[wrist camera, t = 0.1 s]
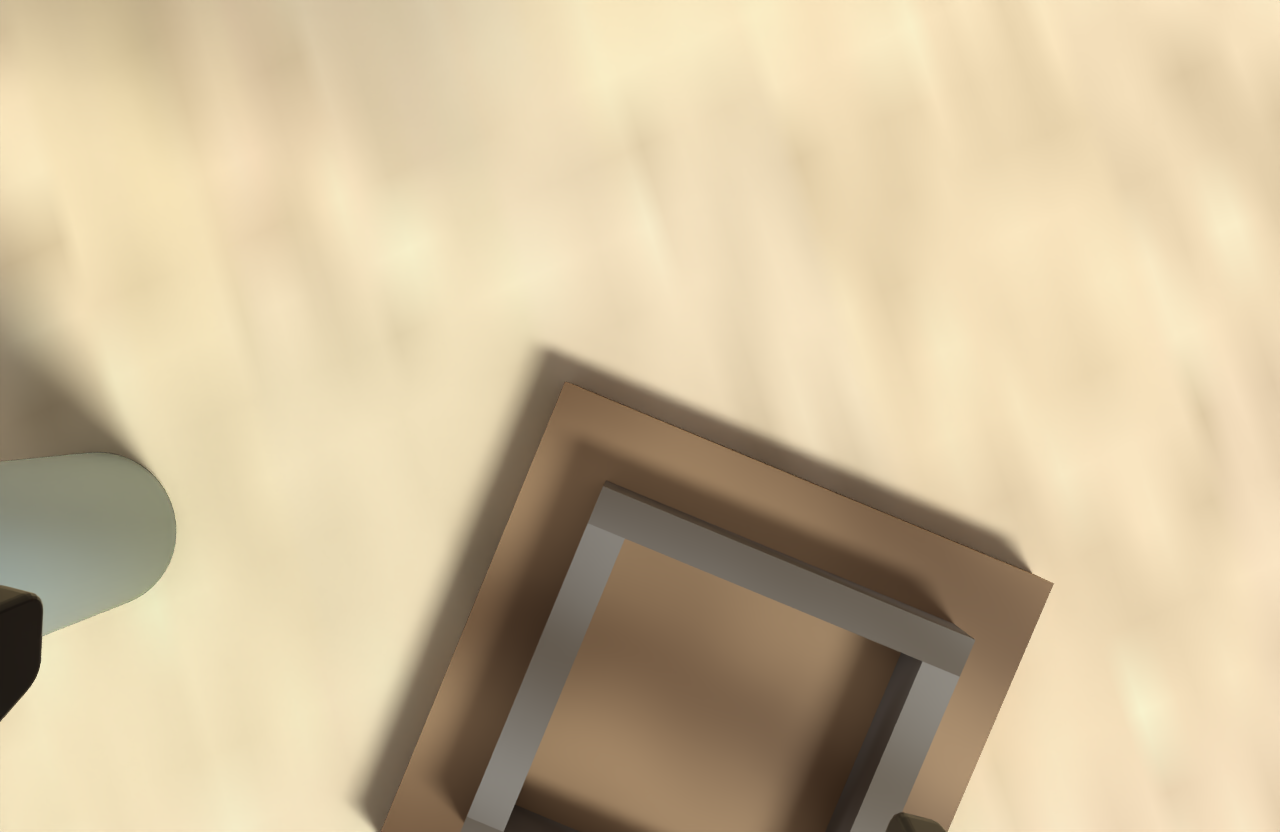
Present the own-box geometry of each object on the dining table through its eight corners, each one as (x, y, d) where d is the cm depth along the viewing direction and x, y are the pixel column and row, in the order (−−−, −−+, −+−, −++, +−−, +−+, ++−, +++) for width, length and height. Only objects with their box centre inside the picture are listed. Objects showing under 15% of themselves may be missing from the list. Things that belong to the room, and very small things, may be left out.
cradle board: (839, 1029, 25) (862, 1107, 22) (381, 840, 25) (348, 895, 22) (1033, 574, 24) (1082, 596, 21) (569, 382, 24) (559, 380, 22)
